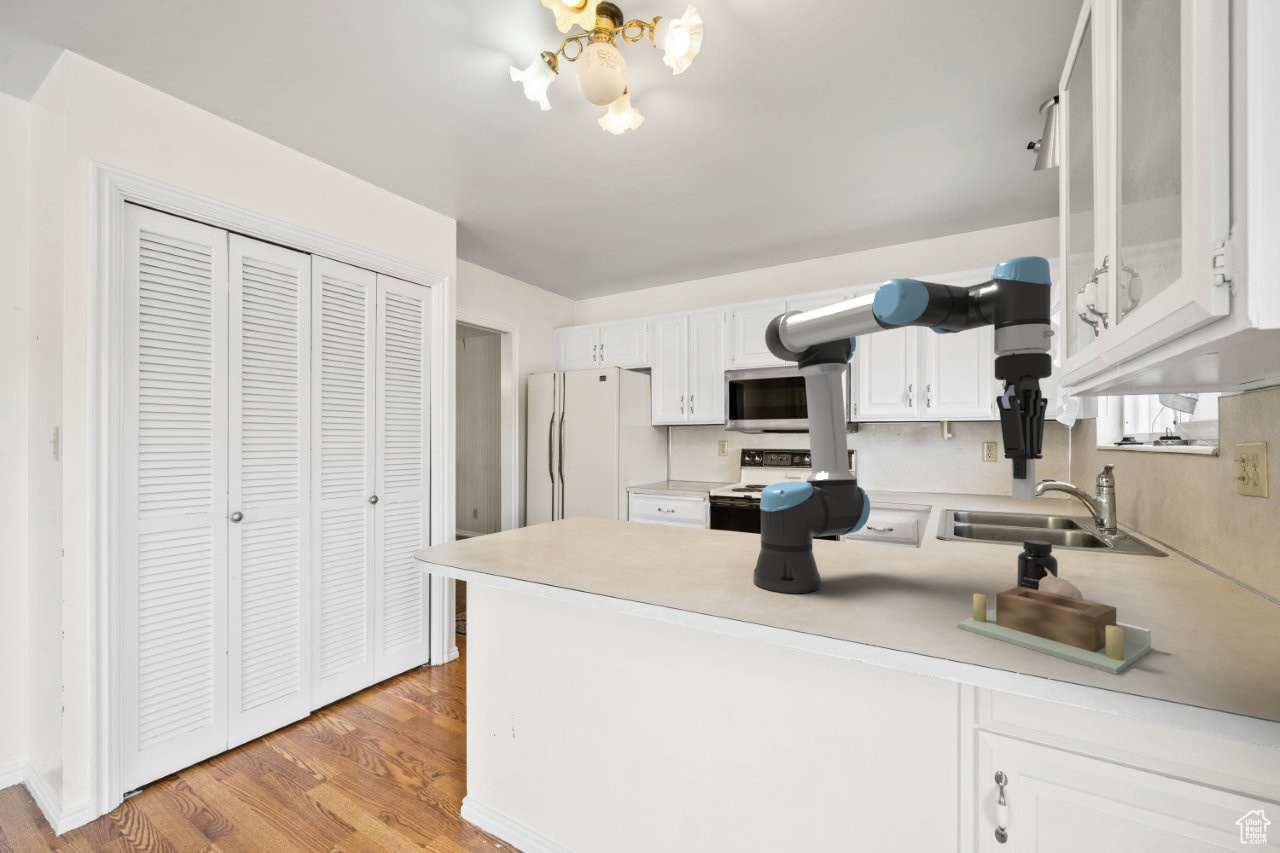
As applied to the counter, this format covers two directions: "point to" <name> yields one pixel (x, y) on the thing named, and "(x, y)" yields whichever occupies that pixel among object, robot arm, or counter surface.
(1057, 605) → the wooden box
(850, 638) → the counter surface
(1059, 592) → the garlic bulb
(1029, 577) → the supplement bottle
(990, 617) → the wall board
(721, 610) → the counter surface
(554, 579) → the counter surface
